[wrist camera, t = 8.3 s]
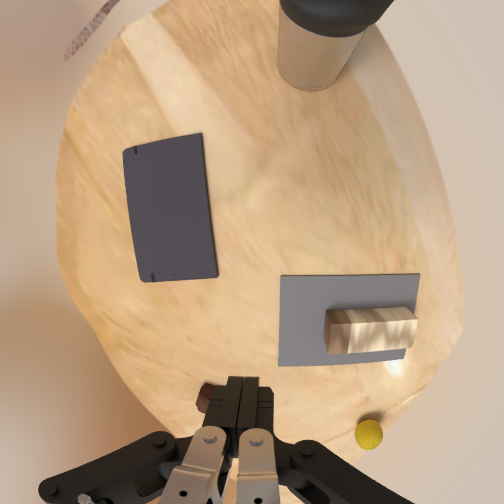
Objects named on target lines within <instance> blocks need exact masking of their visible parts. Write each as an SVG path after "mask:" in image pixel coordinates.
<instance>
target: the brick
mask: <svg viewBox="0 0 504 504" xmlns="http://www.w3.org/2000/svg"><path fill="white" fill-rule="evenodd" d="M215 388H216V387H215V386H212V385H209V384H205V385H204V386H202V387H201V389H200V392H199V395H198V398H197V401H196V406H197V407H198V410H199V411H200V412H202V413H204V414H206V411H207V407H208V404H209V400H210V397H211V393H212V391H213V390H214V389H215Z"/></svg>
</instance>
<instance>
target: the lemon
mask: <svg viewBox="0 0 504 504" xmlns="http://www.w3.org/2000/svg"><path fill="white" fill-rule="evenodd" d="M382 438H383V432H382V428H381V426H380V425H379V423H377V422H376V421H374V420H364V421H362V422H361V423H360V424H359V425H358V426H357V428H356V430H355V439H356V442H357V443H358V445H359V446H360V447H361V448H363V449H365V450H371V449H374V448H376V447H377V446H378V445H379V444H380V443H381V441H382Z"/></svg>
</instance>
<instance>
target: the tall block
mask: <svg viewBox="0 0 504 504" xmlns="http://www.w3.org/2000/svg"><path fill="white" fill-rule="evenodd" d="M417 322H418V318H417V317H416V316H415V315H414V314H413V313H412V312H411V311H410V310H409V309H407V308H406V307H392V308H373V309H349V310H325V322H324V332H323V340H324V343H325V346H326V350H327V353H328V354H344V353H360V352H372V351H384V350H393V349H403V348H411V347H412V344H413V340H414V336H415V331H416V327H417Z"/></svg>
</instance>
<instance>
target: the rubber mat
mask: <svg viewBox="0 0 504 504" xmlns="http://www.w3.org/2000/svg"><path fill="white" fill-rule="evenodd" d="M419 279H420V274H392V275H328V276H281V280H280V326H279V358H278V366H323V365H342V364H356V363H368V362H379V361H388V360H397V359H404V355H405V351H406V348H403V349H393V350H384V351H372V352H360V353H344V354H328V353H327V350H326V346H325V343H324V340H323V332H324V322H325V310H349V309H373V308H392V307H406V308H407V309H409V310H410V311H411V312H412V313H413V314H414V309H415V304H416V298H417V292H418V286H419Z"/></svg>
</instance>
